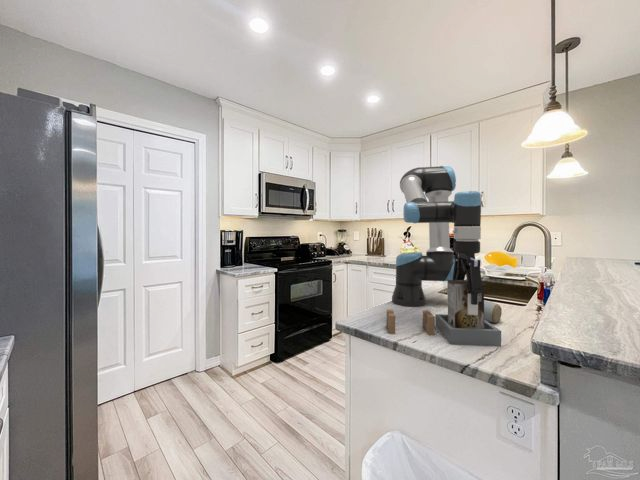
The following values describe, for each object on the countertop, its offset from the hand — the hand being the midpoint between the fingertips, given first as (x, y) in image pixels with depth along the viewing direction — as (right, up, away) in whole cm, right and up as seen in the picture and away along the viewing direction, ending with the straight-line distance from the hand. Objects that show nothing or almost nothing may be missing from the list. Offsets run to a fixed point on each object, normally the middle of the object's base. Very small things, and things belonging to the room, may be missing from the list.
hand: (465, 309), depth 87 cm
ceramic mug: (+17, -8, +16) cm, 24 cm away
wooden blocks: (-16, -8, +5) cm, 19 cm away
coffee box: (0, -7, 0) cm, 7 cm away
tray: (0, -9, 0) cm, 9 cm away
